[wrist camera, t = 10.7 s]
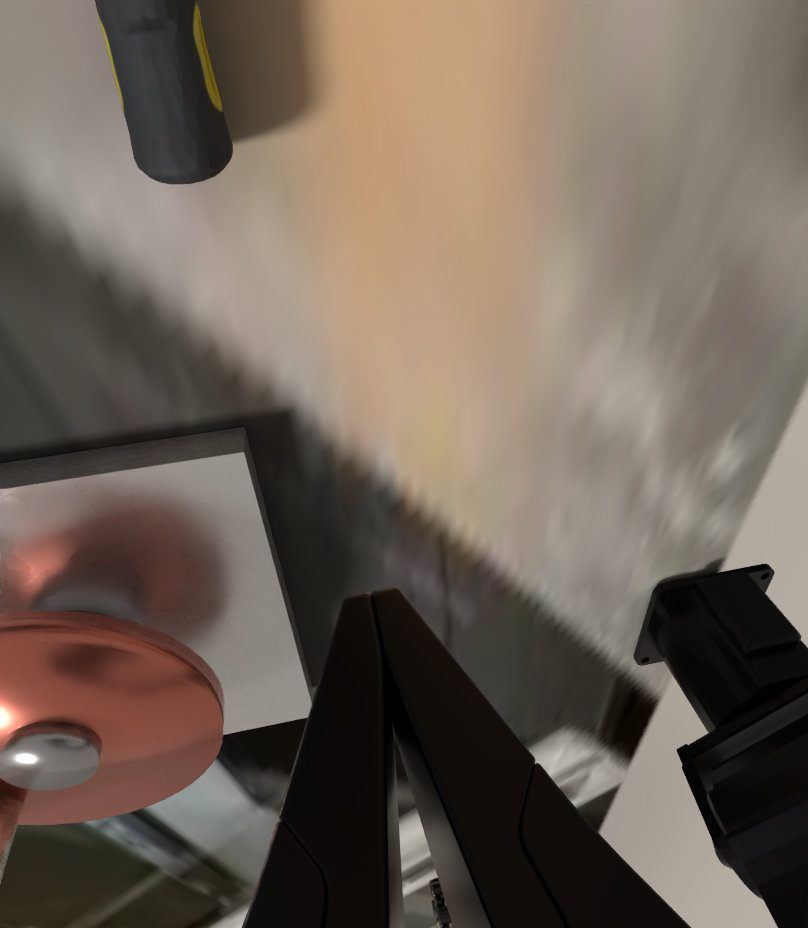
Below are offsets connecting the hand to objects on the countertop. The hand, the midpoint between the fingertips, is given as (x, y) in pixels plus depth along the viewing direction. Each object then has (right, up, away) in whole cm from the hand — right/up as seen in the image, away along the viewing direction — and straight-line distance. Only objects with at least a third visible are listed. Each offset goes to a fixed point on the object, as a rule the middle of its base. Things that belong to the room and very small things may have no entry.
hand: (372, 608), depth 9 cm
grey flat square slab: (-12, -4, +15) cm, 20 cm away
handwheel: (-12, -7, +12) cm, 18 cm away
